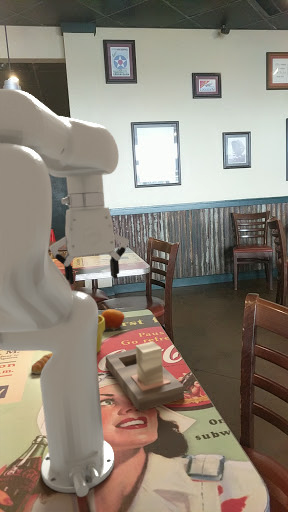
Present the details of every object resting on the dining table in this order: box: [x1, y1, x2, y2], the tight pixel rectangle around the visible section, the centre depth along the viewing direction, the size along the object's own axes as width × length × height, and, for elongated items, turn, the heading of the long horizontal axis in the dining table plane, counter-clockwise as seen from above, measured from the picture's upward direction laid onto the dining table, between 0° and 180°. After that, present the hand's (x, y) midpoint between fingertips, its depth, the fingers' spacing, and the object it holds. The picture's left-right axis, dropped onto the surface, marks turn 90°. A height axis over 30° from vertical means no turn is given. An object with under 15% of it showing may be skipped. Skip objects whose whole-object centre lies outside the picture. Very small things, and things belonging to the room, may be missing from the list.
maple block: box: [135, 341, 164, 386], centre depth 87 cm, size 4×4×8 cm
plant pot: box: [97, 314, 106, 354], centre depth 113 cm, size 10×10×10 cm
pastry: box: [30, 352, 53, 375], centre depth 104 cm, size 9×7×4 cm
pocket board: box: [104, 348, 185, 412], centre depth 94 cm, size 24×11×3 cm, turn 23°
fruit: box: [100, 308, 125, 333], centre depth 130 cm, size 8×8×8 cm
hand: (93, 280), depth 83 cm, fingers open, 9 cm apart
